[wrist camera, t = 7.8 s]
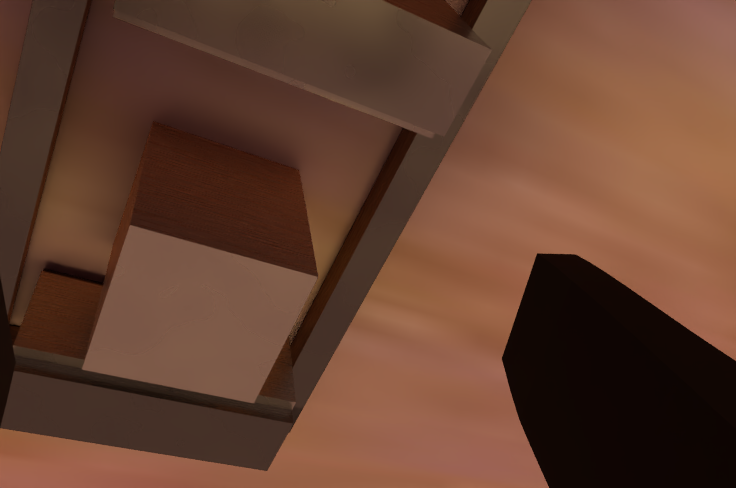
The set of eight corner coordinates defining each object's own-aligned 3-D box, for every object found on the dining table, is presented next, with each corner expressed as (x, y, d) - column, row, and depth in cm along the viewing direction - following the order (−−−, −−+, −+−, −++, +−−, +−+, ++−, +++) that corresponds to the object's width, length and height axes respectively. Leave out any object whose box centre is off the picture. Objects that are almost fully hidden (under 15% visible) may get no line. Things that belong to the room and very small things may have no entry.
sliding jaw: (134, -28, 15) (108, 25, 12) (164, -134, 14) (144, -108, 11) (399, 80, 18) (437, 148, 15) (441, -4, 17) (492, 50, 14)
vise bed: (-36, 347, 20) (-87, 456, 17) (111, -318, 13) (69, -352, 9) (287, 410, 24) (296, 510, 21) (551, -75, 16) (632, -37, 13)
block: (113, 244, 19) (81, 369, 15) (153, 120, 17) (129, 225, 13) (249, 280, 21) (253, 403, 17) (299, 169, 19) (318, 276, 15)
